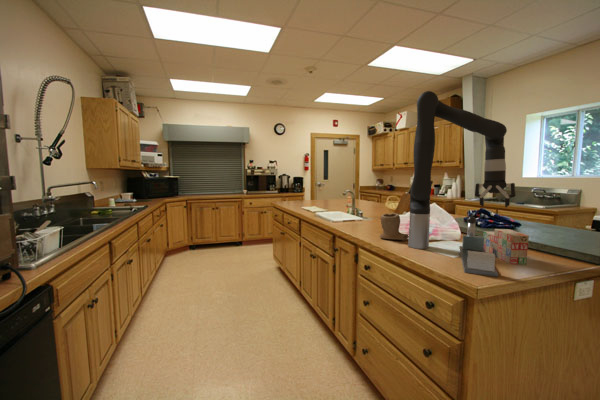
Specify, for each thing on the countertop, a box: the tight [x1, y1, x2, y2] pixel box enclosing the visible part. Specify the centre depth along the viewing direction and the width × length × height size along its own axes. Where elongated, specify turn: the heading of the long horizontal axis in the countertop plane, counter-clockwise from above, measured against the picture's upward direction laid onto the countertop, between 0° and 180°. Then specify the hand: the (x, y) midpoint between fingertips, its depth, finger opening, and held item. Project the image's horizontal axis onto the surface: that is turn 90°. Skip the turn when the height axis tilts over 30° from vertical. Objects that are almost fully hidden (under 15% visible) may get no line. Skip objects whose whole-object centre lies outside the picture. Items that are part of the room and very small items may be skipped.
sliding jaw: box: [461, 216, 484, 251], centre depth 126 cm, size 8×15×14 cm, turn 151°
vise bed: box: [458, 245, 499, 278], centre depth 109 cm, size 10×36×8 cm, turn 151°
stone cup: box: [379, 212, 409, 241], centre depth 147 cm, size 15×12×15 cm
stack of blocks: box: [482, 228, 530, 266], centre depth 115 cm, size 21×6×12 cm, turn 171°
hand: (494, 206), depth 115 cm, fingers open, 8 cm apart
